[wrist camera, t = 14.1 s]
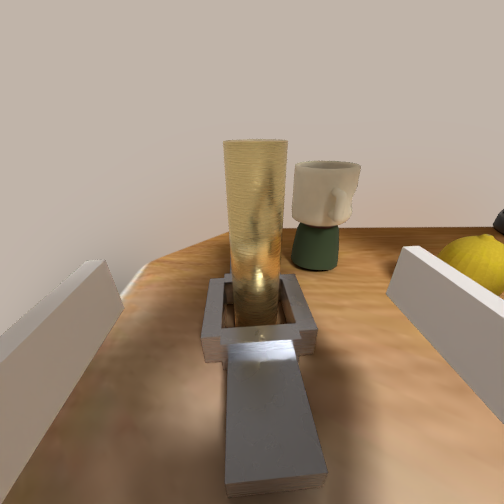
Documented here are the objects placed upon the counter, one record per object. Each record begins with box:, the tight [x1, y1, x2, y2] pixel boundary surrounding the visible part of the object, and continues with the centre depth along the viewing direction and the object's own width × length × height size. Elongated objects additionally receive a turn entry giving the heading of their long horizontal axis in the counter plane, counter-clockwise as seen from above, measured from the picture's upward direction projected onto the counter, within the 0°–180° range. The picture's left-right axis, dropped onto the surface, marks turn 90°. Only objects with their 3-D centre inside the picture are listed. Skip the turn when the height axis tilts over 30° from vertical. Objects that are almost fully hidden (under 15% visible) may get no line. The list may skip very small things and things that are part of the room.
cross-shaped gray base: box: [201, 254, 328, 498], centre depth 21 cm, size 9×23×3 cm, turn 4°
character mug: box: [291, 161, 361, 270], centre depth 28 cm, size 11×7×13 cm, turn 4°
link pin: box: [223, 139, 288, 327], centre depth 18 cm, size 4×4×16 cm
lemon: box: [437, 234, 504, 296], centre depth 22 cm, size 6×6×8 cm
